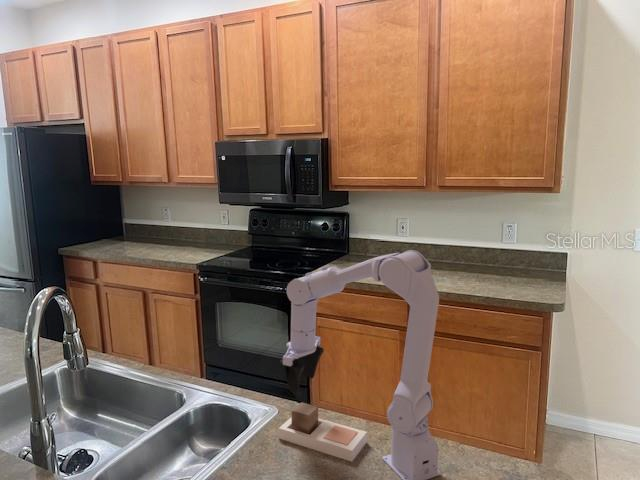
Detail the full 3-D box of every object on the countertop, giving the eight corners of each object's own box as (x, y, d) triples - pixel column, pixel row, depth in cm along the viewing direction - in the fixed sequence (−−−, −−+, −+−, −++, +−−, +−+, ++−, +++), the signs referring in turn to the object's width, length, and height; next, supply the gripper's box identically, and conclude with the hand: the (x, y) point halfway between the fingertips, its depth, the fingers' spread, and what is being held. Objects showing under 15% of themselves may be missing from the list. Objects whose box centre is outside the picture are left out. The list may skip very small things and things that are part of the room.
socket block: (366, 442, 105) (366, 431, 104) (351, 461, 98) (352, 449, 97) (296, 421, 113) (296, 411, 113) (278, 438, 106) (278, 427, 106)
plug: (318, 433, 109) (318, 406, 108) (308, 442, 105) (308, 415, 104) (301, 428, 111) (301, 402, 110) (291, 437, 107) (291, 410, 106)
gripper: (303, 316, 117) (301, 367, 119) (271, 334, 104) (270, 392, 106) (328, 321, 113) (326, 374, 116) (299, 340, 101) (297, 400, 103)
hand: (301, 383), depth 111 cm, fingers open, 7 cm apart
